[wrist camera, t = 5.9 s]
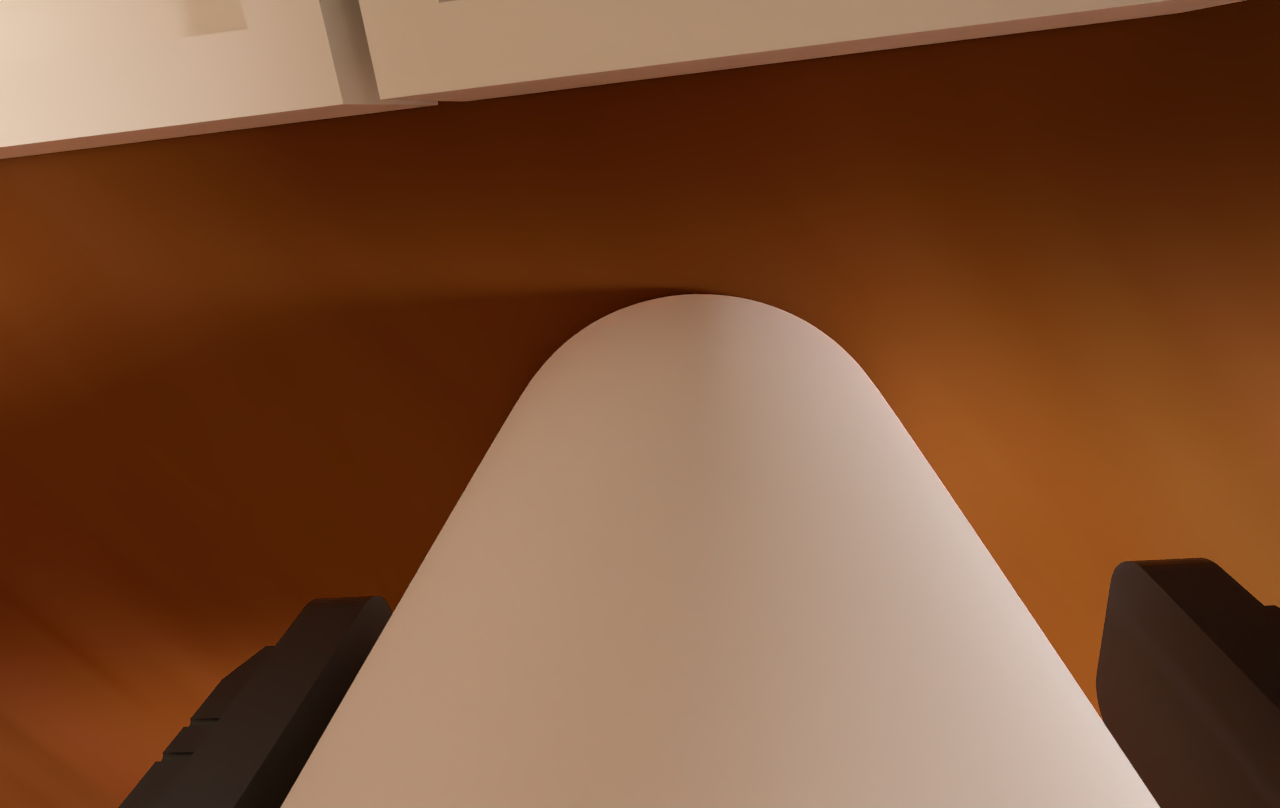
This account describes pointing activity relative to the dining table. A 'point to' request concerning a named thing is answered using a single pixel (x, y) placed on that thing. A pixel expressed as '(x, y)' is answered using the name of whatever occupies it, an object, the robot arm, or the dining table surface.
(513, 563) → the can
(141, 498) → the dining table surface
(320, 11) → the dish
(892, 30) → the dish
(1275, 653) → the robot arm
